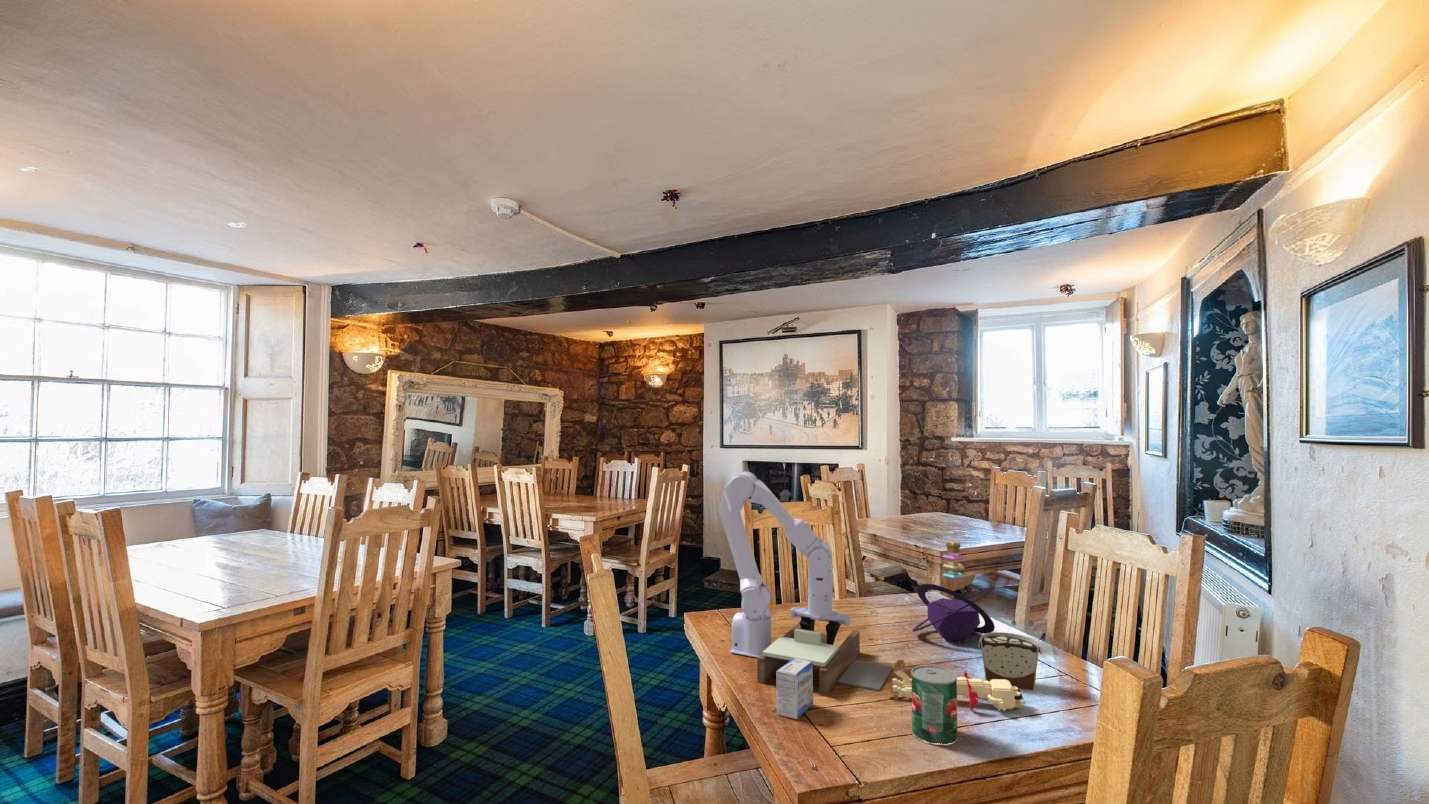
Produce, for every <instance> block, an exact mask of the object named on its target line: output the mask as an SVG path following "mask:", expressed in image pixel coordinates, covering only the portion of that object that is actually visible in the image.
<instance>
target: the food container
mask: <svg viewBox="0 0 1429 804" xmlns="http://www.w3.org/2000/svg"><path fill="white" fill-rule="evenodd" d="M980 647H981V653H982V654H981V655H982V662H983V663H982V664H983V670H984V678H985V679H984V680H986V681H988V682H989V681H991V680H992V679H1004V680H1008V681H1009V682H1010V683H1011V685H1012V686H1015V687H1017V688H1018V689H1019V690H1020V691H1025V690H1027V691H1026V692H1033V691H1034V692H1035V689H1036V688H1035V687H1036V681H1037V680H1036V679H1037V668H1038V659H1039V654H1040V655H1042V650H1041V647H1040V644H1039V642H1038V641H1036V640H1035V639H1032V638H1030V637H1028V636H1025V635H1021V634H1016V633H1011V632H1010V633H1009V632H999V631H998V632H994V631H993V632H991V633H983V634H982V635H981V636H980V638H979V641H978V648H979V649H980Z"/></svg>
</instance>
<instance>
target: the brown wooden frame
mask: <svg viewBox="0 0 1429 804" xmlns="http://www.w3.org/2000/svg"><path fill="white" fill-rule="evenodd" d="M795 629H802V628H801V626H800V623H799V622H798V623H797V624H796V625H794V626H793V627H792V628H791V629H789V630H788V631H787V632H786V633H785V634H784V635H783V636H782V637H787V638H793V639H794V630H795ZM860 634H861V633H860V630H854V629H853V631H852V632H850V634H848V636H847V637H846V638H845V639H844V640H843V642H842V643H841V644H839V645H838V646H839V650H838V652H837V653H836V654H835V655H834V656H833V657H832V659H831V660H830V661H829V662H828V663H827V664H826V666H825V667H823V666H820V668H819V670H818V672H819V673H818V675H819V677H818V679H819V682H818V684H819V686H818V692H819V693H818V694H819V696H824V697H827V696H828V694H830V692H831V691H832V690H833V688H834V687H835V686H836V685H837V684H838V680H839V679H840V678H841V676H842V675H843V674H844V672H845V671H846V670H847V668H848V667H849V666H850V665H851V663H852V662H853V661H854V659H855V660H856V658H857V657H858V655H860V653H861V651H860V649H861V646H860V643H861V642H860V640H861V639H860V637H861V635H860ZM756 658H757V657H756ZM756 662H757V664H756V666H757V667H756V668H757V669H756V671H757V672H756V674H757V676H756V677H757V683H760V684H765V683H766V682H767V681H768V680H769V679H770V678H771V677H772V676H773V675H774V674H775V673H776V671H777V670H779V669H780V668H781V667H783V666H784V665H785V664H786V663H788V662H789V660H784V659H779V658H774V657H768V656H763V654H762V655H760V656H759V657H758V658H757V661H756Z"/></svg>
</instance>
